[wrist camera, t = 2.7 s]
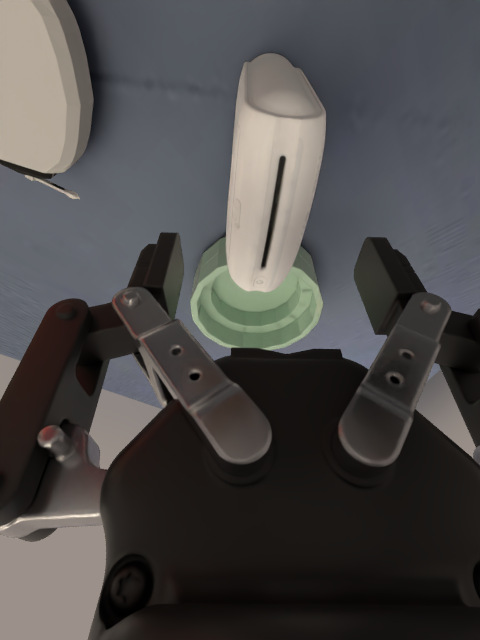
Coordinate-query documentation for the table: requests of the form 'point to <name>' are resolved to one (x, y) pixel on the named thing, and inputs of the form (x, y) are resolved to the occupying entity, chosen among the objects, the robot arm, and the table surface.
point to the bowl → (254, 304)
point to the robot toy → (43, 89)
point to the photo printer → (271, 171)
